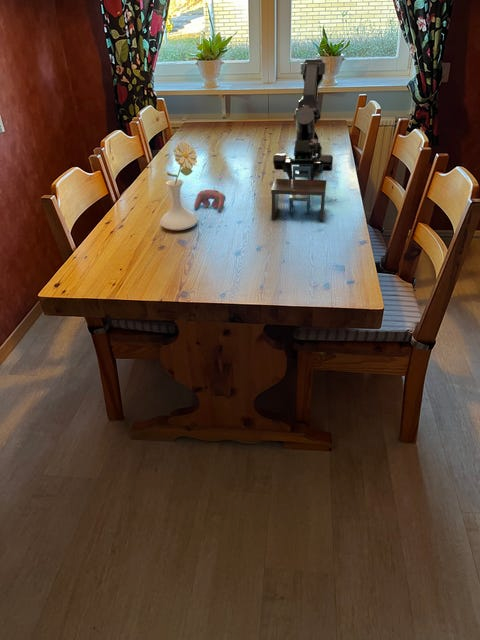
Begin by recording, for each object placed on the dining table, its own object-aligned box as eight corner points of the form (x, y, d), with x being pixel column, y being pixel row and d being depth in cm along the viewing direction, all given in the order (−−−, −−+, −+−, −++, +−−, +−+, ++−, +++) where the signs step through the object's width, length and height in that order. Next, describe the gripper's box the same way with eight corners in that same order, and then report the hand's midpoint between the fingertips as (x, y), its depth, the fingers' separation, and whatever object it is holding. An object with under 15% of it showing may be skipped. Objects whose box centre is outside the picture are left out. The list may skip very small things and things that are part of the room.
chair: (290, 205, 163) (291, 165, 156) (310, 206, 162) (312, 166, 155) (288, 213, 158) (289, 172, 151) (308, 213, 157) (310, 173, 150)
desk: (275, 208, 162) (275, 178, 156) (324, 210, 159) (326, 180, 154) (271, 220, 154) (271, 189, 148) (323, 222, 151) (325, 191, 146)
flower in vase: (168, 237, 146) (158, 151, 132) (155, 223, 155) (144, 141, 141) (208, 227, 151) (202, 143, 137) (194, 214, 159) (187, 134, 145)
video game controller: (225, 213, 164) (227, 191, 162) (220, 212, 159) (223, 189, 158) (197, 210, 166) (200, 189, 165) (192, 209, 162) (194, 187, 161)
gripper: (274, 127, 154) (269, 174, 151) (334, 128, 151) (331, 176, 148) (276, 146, 165) (272, 190, 162) (333, 147, 162) (330, 192, 159)
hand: (300, 187), depth 158 cm, fingers closed on chair, 5 cm apart
